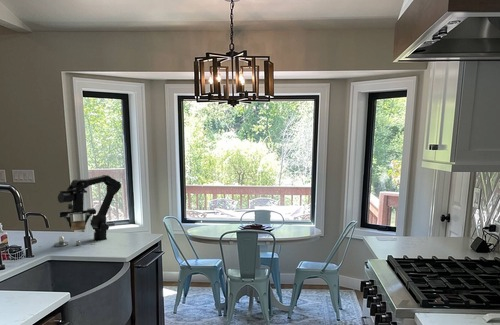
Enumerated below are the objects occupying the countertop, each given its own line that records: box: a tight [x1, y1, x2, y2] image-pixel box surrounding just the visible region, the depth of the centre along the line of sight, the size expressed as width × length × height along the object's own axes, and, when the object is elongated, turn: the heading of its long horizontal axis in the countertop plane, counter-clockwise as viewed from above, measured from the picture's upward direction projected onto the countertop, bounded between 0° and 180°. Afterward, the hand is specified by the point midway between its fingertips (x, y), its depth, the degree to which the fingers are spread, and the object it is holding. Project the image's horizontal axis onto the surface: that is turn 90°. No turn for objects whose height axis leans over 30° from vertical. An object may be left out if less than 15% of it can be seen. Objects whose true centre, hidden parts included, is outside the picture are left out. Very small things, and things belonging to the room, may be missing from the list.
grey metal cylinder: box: [75, 240, 81, 247], centre depth 174 cm, size 2×2×2 cm
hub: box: [53, 235, 69, 248], centre depth 173 cm, size 7×7×5 cm
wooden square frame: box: [69, 219, 86, 232], centre depth 174 cm, size 7×7×4 cm
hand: (77, 227), depth 174 cm, fingers closed on wooden square frame, 7 cm apart
